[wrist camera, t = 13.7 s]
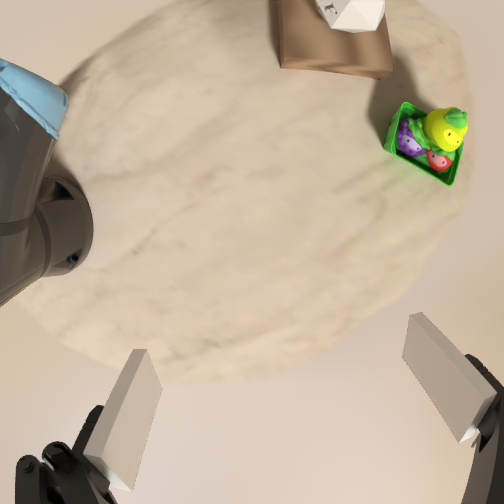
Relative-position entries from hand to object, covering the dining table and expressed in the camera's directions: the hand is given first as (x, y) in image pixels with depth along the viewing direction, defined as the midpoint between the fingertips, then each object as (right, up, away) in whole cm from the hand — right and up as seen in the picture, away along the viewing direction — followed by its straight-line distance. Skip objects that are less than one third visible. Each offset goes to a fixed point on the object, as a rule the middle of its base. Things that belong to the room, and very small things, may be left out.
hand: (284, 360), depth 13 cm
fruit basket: (+21, +21, +22) cm, 37 cm away
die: (+10, +35, +12) cm, 38 cm away
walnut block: (+9, +36, +17) cm, 41 cm away
